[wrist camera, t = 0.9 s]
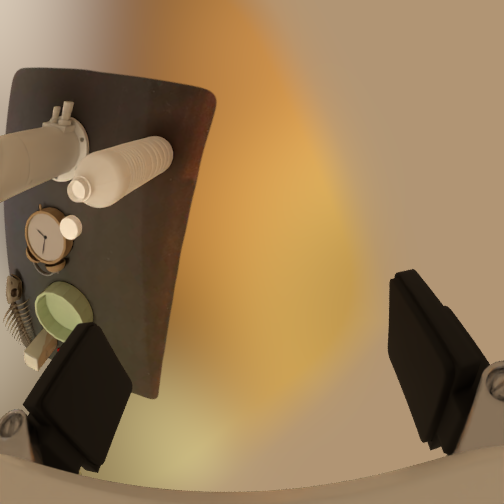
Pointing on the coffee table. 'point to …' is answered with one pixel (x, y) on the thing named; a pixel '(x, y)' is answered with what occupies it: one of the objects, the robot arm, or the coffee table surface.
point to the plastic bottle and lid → (115, 175)
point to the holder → (62, 309)
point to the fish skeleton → (12, 295)
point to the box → (39, 350)
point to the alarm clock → (46, 240)
